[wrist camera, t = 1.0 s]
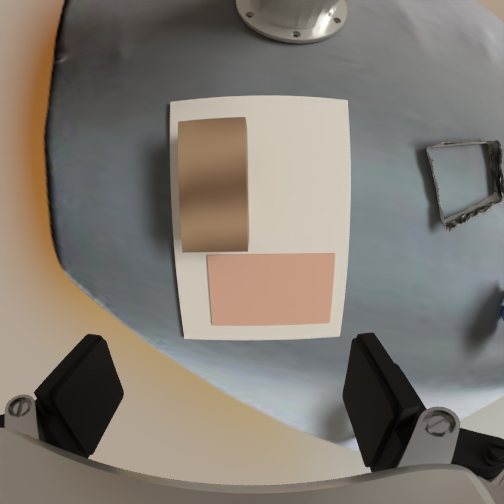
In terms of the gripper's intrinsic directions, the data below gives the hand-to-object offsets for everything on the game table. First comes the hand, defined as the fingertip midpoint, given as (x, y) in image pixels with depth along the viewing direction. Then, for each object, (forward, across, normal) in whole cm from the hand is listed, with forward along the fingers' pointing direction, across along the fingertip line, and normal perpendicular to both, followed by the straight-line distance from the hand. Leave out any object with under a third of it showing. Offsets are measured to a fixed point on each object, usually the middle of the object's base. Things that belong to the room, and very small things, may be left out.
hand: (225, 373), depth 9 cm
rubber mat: (+20, -2, -2) cm, 20 cm away
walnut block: (+20, +2, -6) cm, 21 cm away
